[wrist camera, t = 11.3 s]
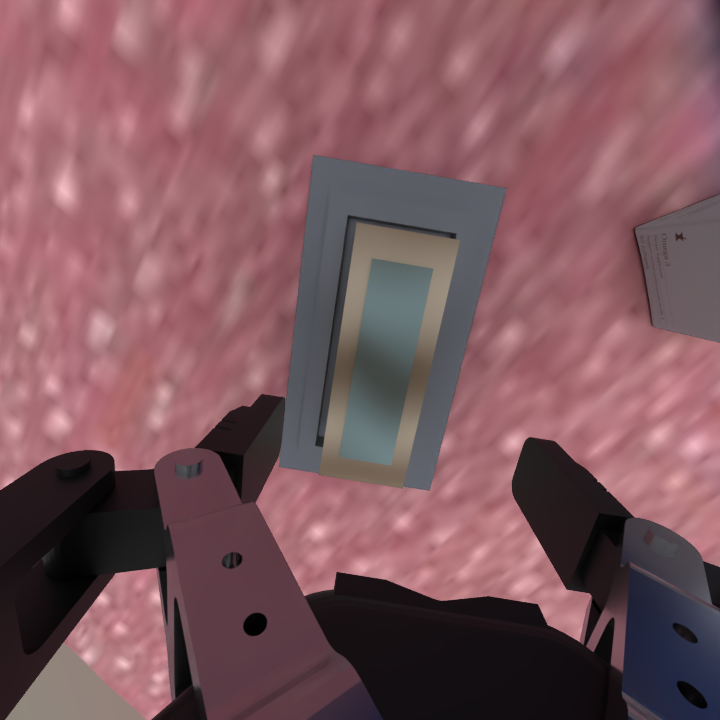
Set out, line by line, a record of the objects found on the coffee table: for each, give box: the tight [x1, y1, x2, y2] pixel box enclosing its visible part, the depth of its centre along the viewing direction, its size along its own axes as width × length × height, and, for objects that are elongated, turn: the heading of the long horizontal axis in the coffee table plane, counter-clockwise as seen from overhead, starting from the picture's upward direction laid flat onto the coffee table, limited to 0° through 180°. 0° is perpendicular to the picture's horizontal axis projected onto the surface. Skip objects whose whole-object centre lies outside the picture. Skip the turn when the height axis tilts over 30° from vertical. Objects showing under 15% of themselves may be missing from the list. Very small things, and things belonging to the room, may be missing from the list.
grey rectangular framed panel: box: [279, 155, 506, 491], centre depth 24 cm, size 22×12×3 cm, turn 171°
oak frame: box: [319, 222, 460, 488], centre depth 21 cm, size 14×5×6 cm, turn 171°
